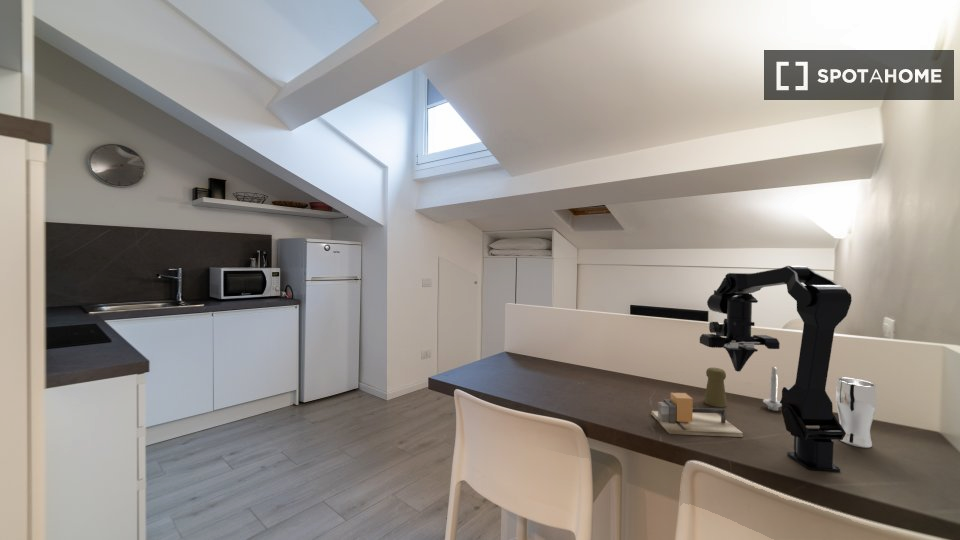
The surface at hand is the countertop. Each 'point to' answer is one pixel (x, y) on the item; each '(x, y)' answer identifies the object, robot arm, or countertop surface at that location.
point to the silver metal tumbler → (856, 410)
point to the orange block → (683, 406)
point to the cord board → (695, 421)
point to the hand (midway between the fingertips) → (737, 371)
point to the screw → (773, 392)
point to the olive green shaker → (715, 388)
